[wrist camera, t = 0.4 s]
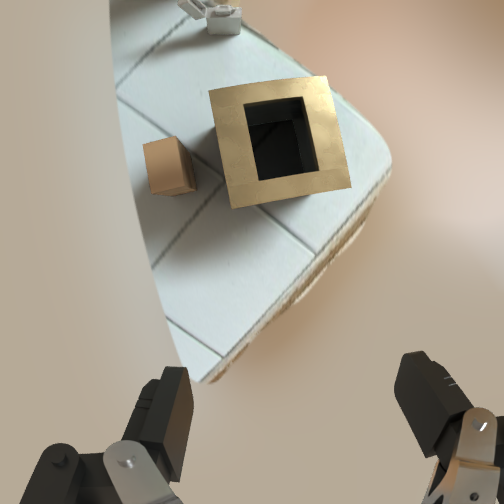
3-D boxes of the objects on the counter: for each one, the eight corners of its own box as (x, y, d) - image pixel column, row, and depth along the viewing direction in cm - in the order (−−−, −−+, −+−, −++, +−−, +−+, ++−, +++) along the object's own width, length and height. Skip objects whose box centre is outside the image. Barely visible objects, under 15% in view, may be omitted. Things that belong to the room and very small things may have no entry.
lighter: (240, 24, 32) (243, -10, 24) (240, 34, 32) (242, 0, 24) (186, 25, 32) (178, -8, 24) (185, 35, 32) (176, 2, 24)
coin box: (215, 125, 34) (208, 90, 22) (297, 112, 34) (325, 75, 23) (231, 207, 36) (231, 209, 24) (314, 191, 36) (351, 187, 24)
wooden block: (165, 159, 34) (142, 144, 25) (190, 153, 34) (175, 135, 25) (172, 196, 35) (151, 193, 25) (197, 190, 35) (184, 185, 25)
